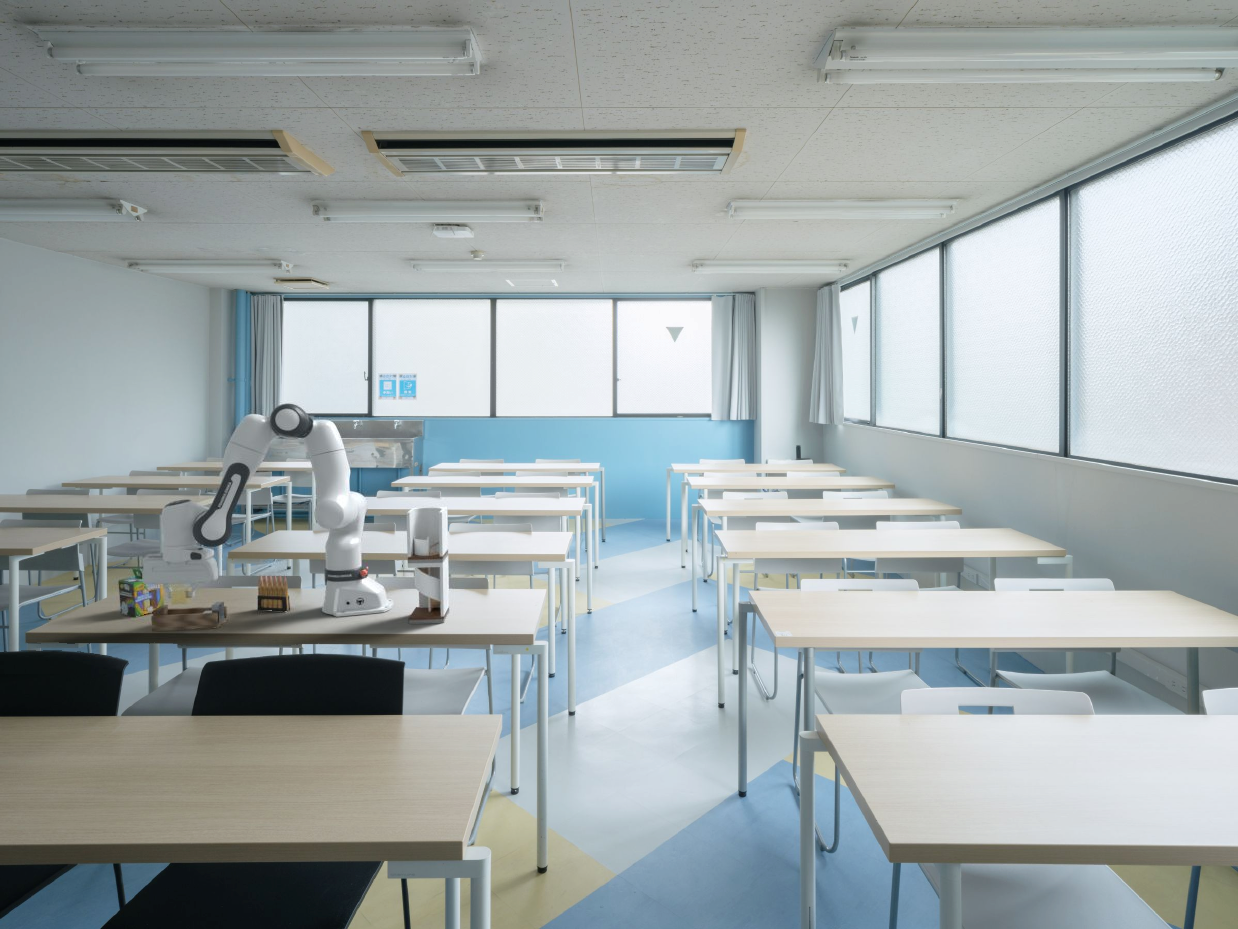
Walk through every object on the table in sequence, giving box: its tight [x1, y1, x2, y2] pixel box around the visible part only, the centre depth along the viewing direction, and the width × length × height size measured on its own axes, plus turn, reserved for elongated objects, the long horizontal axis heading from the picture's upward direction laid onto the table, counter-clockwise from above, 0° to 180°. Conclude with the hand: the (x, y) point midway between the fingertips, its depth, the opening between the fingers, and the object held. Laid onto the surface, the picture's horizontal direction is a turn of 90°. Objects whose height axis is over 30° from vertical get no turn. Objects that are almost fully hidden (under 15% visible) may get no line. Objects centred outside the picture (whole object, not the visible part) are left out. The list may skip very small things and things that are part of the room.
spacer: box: [170, 587, 193, 605], centre depth 209 cm, size 4×4×4 cm
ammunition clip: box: [257, 574, 291, 612], centre depth 226 cm, size 11×2×12 cm, turn 81°
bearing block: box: [150, 604, 228, 632], centre depth 210 cm, size 18×8×6 cm, turn 100°
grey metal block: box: [203, 601, 225, 623], centre depth 211 cm, size 5×4×6 cm
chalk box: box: [118, 567, 165, 618], centre depth 224 cm, size 9×9×15 cm
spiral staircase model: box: [406, 506, 450, 625], centre depth 217 cm, size 11×11×35 cm
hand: (181, 597), depth 209 cm, fingers closed on spacer, 4 cm apart
